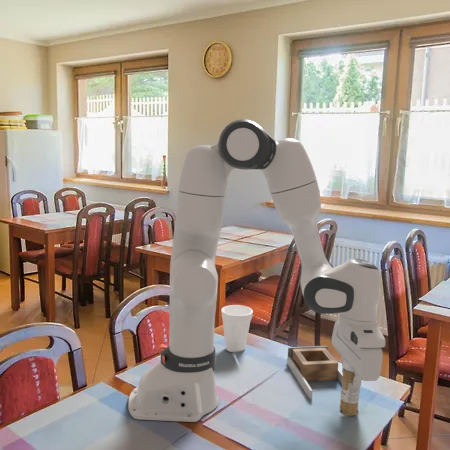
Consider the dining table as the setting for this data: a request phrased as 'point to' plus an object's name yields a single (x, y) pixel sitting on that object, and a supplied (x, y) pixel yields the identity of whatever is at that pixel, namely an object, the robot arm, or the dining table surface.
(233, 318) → the cup
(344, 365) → the sprinkles bottle
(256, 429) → the dining table surface
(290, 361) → the bay
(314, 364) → the crate
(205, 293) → the robot arm
